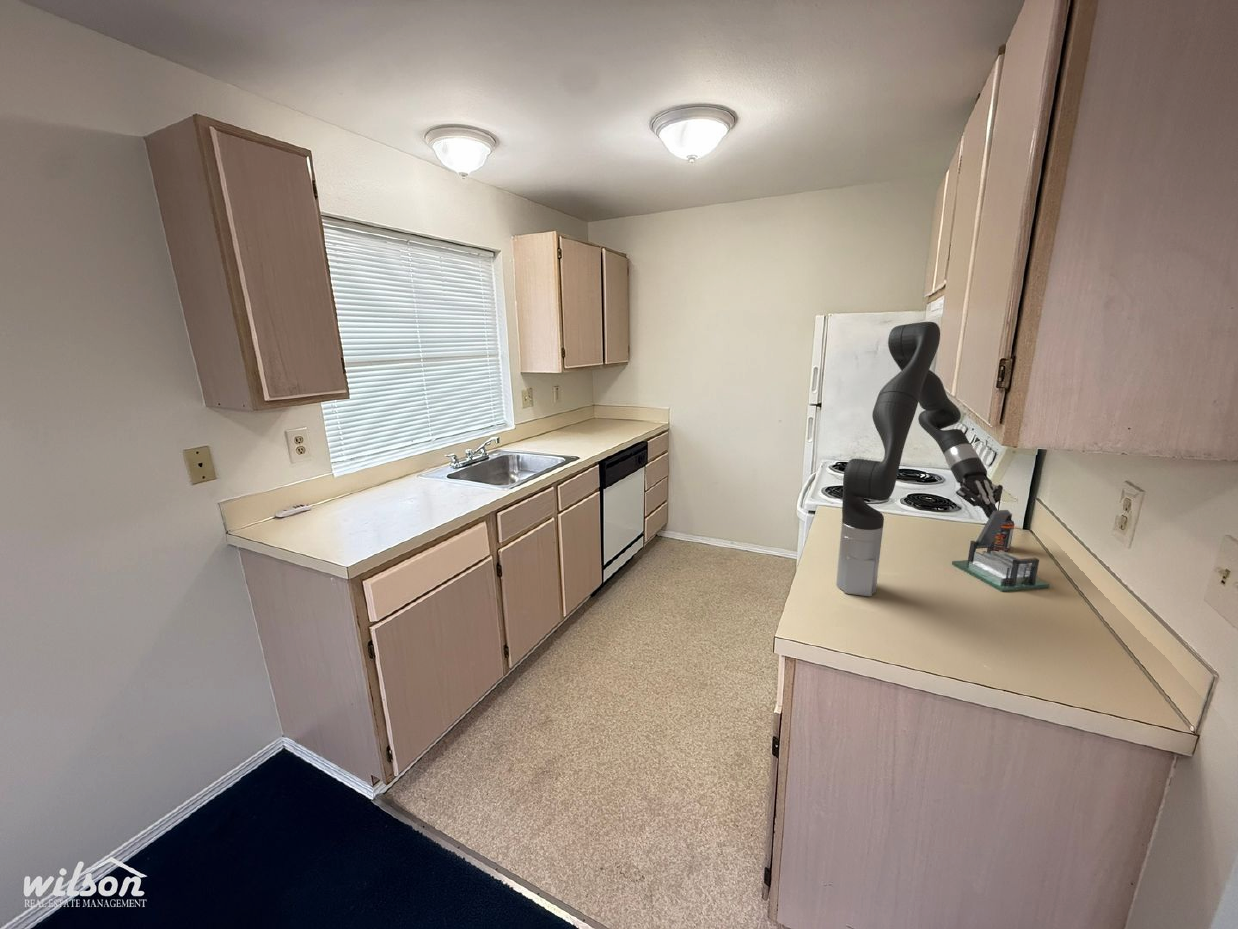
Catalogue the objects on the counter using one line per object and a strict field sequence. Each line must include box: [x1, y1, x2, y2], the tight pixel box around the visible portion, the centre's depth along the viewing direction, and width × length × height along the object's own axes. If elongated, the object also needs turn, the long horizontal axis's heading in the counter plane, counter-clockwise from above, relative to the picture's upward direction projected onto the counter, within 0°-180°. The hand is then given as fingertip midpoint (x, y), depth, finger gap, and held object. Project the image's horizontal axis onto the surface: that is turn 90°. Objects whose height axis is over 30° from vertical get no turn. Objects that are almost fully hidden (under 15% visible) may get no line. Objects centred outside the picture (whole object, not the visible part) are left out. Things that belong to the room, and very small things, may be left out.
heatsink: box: [951, 540, 1050, 593], centre depth 130 cm, size 16×13×8 cm
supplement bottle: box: [994, 512, 1015, 552], centre depth 146 cm, size 6×6×11 cm
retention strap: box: [975, 509, 1011, 550], centre depth 132 cm, size 1×4×13 cm, turn 97°
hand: (995, 518), depth 130 cm, fingers closed
